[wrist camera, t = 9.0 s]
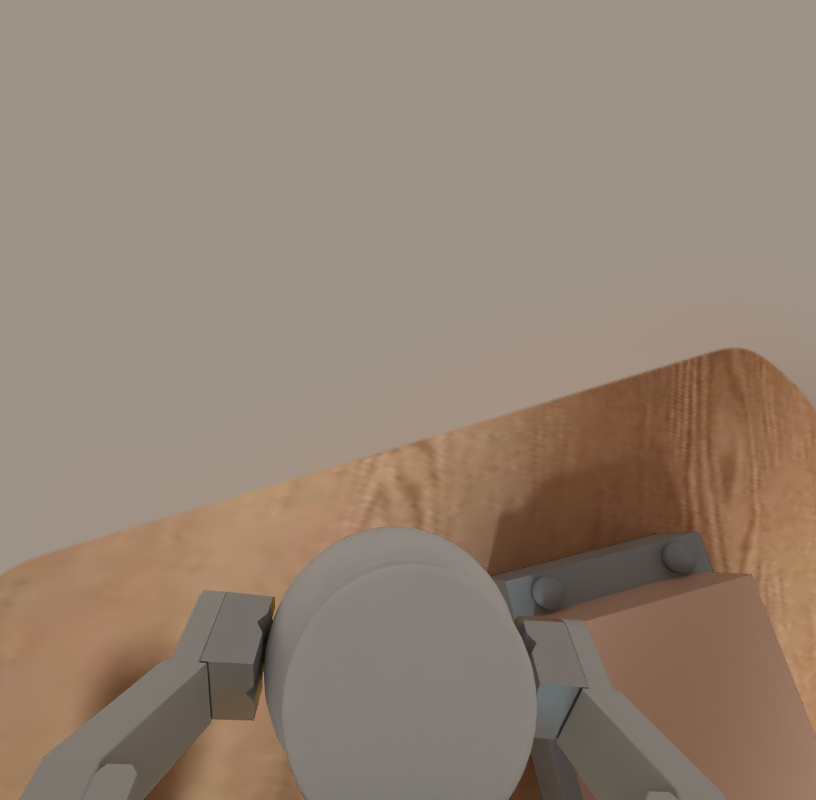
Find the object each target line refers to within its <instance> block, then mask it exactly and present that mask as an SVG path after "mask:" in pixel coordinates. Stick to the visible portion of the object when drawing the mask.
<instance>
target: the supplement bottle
mask: <svg viewBox="0 0 816 800" xmlns="http://www.w3.org/2000/svg"><path fill="white" fill-rule="evenodd" d="M264 682H265V695H266V701H267V706H268V710H269V714H270V717H271V721H272V724H273V727H274V729H275V732H276V735H277V737H278V739H279V741H280V743H281V745H282V747H283V749H284V750H285V752H286V754H287V758H288V762H289V764H290V767H291V770H292V773H293V775H294V778H295V780H296V783H297V785H298V787H299V789H300V790H301V792H302V794H303V796H304V798H305V799H306V800H509V798H510V796H511V795H512V793H513V792H514V790H515V789H516V787H517V785H518V783H519V781H520V779H521V777H522V775H523V772H524V770H525V767H526V765H527V762H528V759H529V756H530V753H531V748H532V744H533V739H534V734H535V728H536V716H537V698H536V686H535V680H534V674H533V669H532V665H531V661H530V658H529V655H528V653H527V650H526V647H525V645H524V642H523V640H522V637H521V636H520V634H519V632H518V630H517V628H516V626H515V624H514V623H513V619H512V617H511V614H510V611H509V609H508V606H507V604H506V602H505V600H504V598H503V596H502V594H501V592H500V590H499V589H498V587H497V585H496V584H495V582H494V581H493V580H492V578H491V577H490V575H489V574H488V573H487V572H486V571H485V570H484V568H483V567H482V566H481V565H480V564H479V563H478V562H477V561H476V560H475V559H474V558H473V557H472V556H471V555H469V554H468V553H467V552H466V551H464V550H463V549H462V548H460V547H459V546H458V545H456V544H454V543H453V542H451V541H449V540H447V539H445V538H443V537H441V536H439V535H436V534H433V533H430V532H427V531H424V530H419V529H415V528H407V527H381V528H374V529H369V530H365V531H362V532H359V533H356V534H353V535H350V536H347V537H345V538H344V539H342V540H340V541H338V542H337V543H335V544H334V545H332V546H330V547H329V548H327V549H326V550H325V551H323V552H322V553H321V554H319V555H318V556H317V557H316V558H315V559H314V560H312V561H311V562H310V563H309V564H308V565H307V566H306V567H305V568H304V569H303V571H302V572H301V573H300V574H299V575H298V576H297V577H296V579H295V580H294V582H293V583H292V585H291V586H290V588H289V589H288V591H287V592H286V594H285V596H284V598H283V600H282V601H281V603H280V605H279V608H278V610H277V612H276V614H275V617H274V620H273V623H272V626H271V629H270V632H269V636H268V641H267V647H266V653H265V664H264Z"/></svg>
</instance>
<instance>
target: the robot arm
mask: <svg viewBox="0 0 816 800" xmlns="http://www.w3.org/2000/svg"><path fill="white" fill-rule="evenodd" d="M274 609H275V597H270V596H260V595H251V594H242V593H232V592H221V591H210V590H204V591H203V592H202V594H201V595H200V596H199V598H198V600H197V602H196V604H195V607H194V609H193V611H192V613H191V616H190V618H189V620H188V622H187V625H186V627H185V629H184V631H183V634H182V636H181V638H180V640H179V643H178V645H177V647H176V649H175V652H174V654H173V656H172V658H171V660H163V661H161V662H160V663H159V664H158V665H156V666H155V667H154V668H153V669H151V670H150V671H149V672H148V673H147V674H145V675H144V676H143V677H142V678H140V679H139V680H138V681H137V682H135V683H134V684H133V685H132V686H131V687H129V688H128V689H127V690H126V691H124V692H123V693H122V694H121V695H120V696H118V697H117V698H116V699H115V700H113V701H112V702H111V703H110V704H108V705H107V706H106V707H105V708H104V709H102V710H101V711H100V712H99V713H97V714H96V715H95V716H94V717H93V718H91V719H90V720H89V721H88V722H86V723H85V724H84V725H83V726H81V727H80V728H79V729H78V730H77V731H75V732H74V733H73V734H72V735H70V736H69V737H68V738H67V739H65V740H64V741H63V742H62V743H61V744H59V745H58V746H57V747H56V748H54V749H53V750H52V751H51V752H50V753H48V754H47V755H46V756H45V757H44V758H43V759H42V761H41V763H40V764H39V766H38V768H37V769H36V771H35V773H34V775H33V776H32V778H31V780H30V781H29V783H28V785H27V786H26V788H25V790H24V792H23V793H22V795H21V797H20V798H19V800H144V799H145V798H146V796H147V795H148V794H149V793H150V792H151V791H152V790H153V788H154V787H155V786H156V785H157V784H158V783H159V782H160V780H161V779H162V778H163V777H164V776H165V775H166V774H167V772H168V771H169V770H170V769H171V768H172V767H173V766H174V764H175V763H176V762H177V761H178V760H179V759H180V758H181V756H182V755H183V754H184V753H185V752H186V751H187V749H188V748H189V747H190V746H191V745H192V744H193V743H194V741H195V740H196V739H197V738H198V737H199V736H200V735H201V733H202V732H203V731H204V730H205V729H206V728H207V727H208V725H209V724H210V723H211V719H218V720H252V721H254V718H255V714H256V710H257V706H258V702H259V699H260V695H261V691H262V672H263V671H264V664H265V653H266V647H267V641H268V636H269V632H270V629H271V626H272V623H273V619H272V617H273V613H274ZM514 624H515V626H516V628H517V630H518V632H519V634H520V636H521V637H522V640H523V642H524V645H525V647H526V650H527V653H528V655H529V658H530V661H531V665H532V669H533V674H534V680H535V686H536V698H537V716H536V728H535V734H534V738H543V739H554V740H557V741H556V742H557V744H558V745H559V747H560V748H561V749H562V751H563V752H564V754H565V755H566V756H567V758H568V759H569V761H570V762H571V764H572V765H573V766H574V768H575V769H576V771H577V772H578V773H579V775H580V776H581V778H582V779H583V781H584V782H585V783H586V785H587V786H588V788H589V789H590V790H591V792H592V793H593V795H594V796H595V798H596V799H597V800H726V798H725V796H724V794H723V793H722V792H721V791H720V790H719V789H718V788H717V787H716V786H715V785H714V784H713V783H712V782H711V781H710V780H709V779H708V778H707V777H706V776H705V775H704V774H703V773H702V772H701V771H700V770H699V769H698V768H697V767H696V766H695V765H694V764H693V763H692V762H691V761H690V760H689V759H688V758H687V757H686V756H685V755H684V754H683V753H682V752H681V751H680V750H679V749H678V748H677V747H676V746H675V745H674V744H673V743H672V742H671V741H670V740H669V739H668V738H667V737H666V736H665V735H664V734H663V733H662V732H661V731H660V730H659V729H658V728H657V727H656V726H655V725H654V724H653V723H652V722H651V721H650V720H649V719H648V718H647V717H646V716H645V715H644V714H643V713H642V712H641V711H640V710H639V709H638V708H637V707H636V706H635V705H634V704H633V703H632V702H631V701H629V700H628V699H627V698H626V697H625V696H624V695H623V694H622V693H621V692H620V691H614V690H613V688H612V685H611V683H610V681H609V678H608V676H607V673H606V671H605V668H604V666H603V663H602V661H601V658H600V656H599V654H598V651H597V649H596V646H595V644H594V641H593V639H592V636H591V634H590V631H589V629H588V627H587V625H586V624H585V622H584V621H581V620H568V619H559V618H547V617H532V616H518V617H517V618H516V619H515V621H514Z"/></svg>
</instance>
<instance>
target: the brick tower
mask: <svg viewBox="0 0 816 800" xmlns="http://www.w3.org/2000/svg"><path fill="white" fill-rule="evenodd" d="M491 578H492V580H493V581H494V582H495V584H496V585H497V587H498V589H499V590H500V592H501V594H502V596H503V598H504V600H505V602H506V604H507V606H508V609H509V611H510V614H511V617H512V619H513V623H514V621H515V619H516V618H517V617H518V616H532V617H547V618H559V619H568V620H581V621H584V622H585V624H586V625H587V627H588V629H589V631H590V634H591V636H592V639H593V641H594V644H595V646H596V649H597V651H598V654H599V656H600V658H601V661H602V663H603V666H604V668H605V671H606V673H607V676H608V678H609V681H610V683H611V685H612V688H613V690H614V691H620V692H621V693H622V694H623V695H624V696H625V697H626V698H627V699H628V700H629V701H631V702H632V703H633V704H634V705H635V706H636V707H637V708H638V709H639V710H640V711H641V712H642V713H643V714H644V715H645V716H646V717H647V718H648V719H649V720H650V721H651V722H652V723H653V724H654V725H655V726H656V727H657V728H658V729H659V730H660V731H661V732H662V733H663V734H664V735H665V736H666V737H667V738H668V739H669V740H670V741H671V742H672V743H673V744H674V745H675V746H676V747H677V748H678V749H679V750H680V751H681V752H682V753H683V754H684V755H685V756H686V757H687V758H688V759H689V760H690V761H691V762H692V763H693V764H694V765H695V766H696V767H697V768H698V769H699V770H700V771H701V772H702V773H703V774H704V775H705V776H706V777H707V778H708V779H709V780H710V781H711V782H712V783H713V784H714V785H715V786H716V787H717V788H718V789H719V790H720V791H721V792H722V793H723V794H724V796H725V798H726V800H816V736H815V733H814V731H813V728H812V726H811V723H810V721H809V718H808V716H807V713H806V711H805V708H804V706H803V703H802V701H801V698H800V696H799V693H798V690H797V688H796V685H795V683H794V680H793V678H792V675H791V673H790V670H789V668H788V665H787V663H786V660H785V658H784V655H783V653H782V650H781V648H780V645H779V643H778V640H777V638H776V635H775V633H774V630H773V627H772V625H771V622H770V620H769V617H768V615H767V612H766V610H765V607H764V605H763V602H762V600H761V597H760V595H759V592H758V590H757V587H756V585H755V582H754V580H753V577H752V575H751V574H737V573H720V572H713V569H712V567H711V564H710V562H709V559H708V556H707V554H706V551H705V548H704V546H703V543H702V540H701V538H700V535H699V532H681V533H663V534H655V535H651V536H647V537H643V538H639V539H635V540H631V541H627V542H623V543H619V544H616V545H612V546H608V547H604V548H600V549H596V550H592V551H588V552H584V553H580V554H577V555H573V556H569V557H565V558H561V559H557V560H553V561H549V562H545V563H541V564H538V565H534V566H530V567H526V568H522V569H518V570H514V571H510V572H506V573H502V574H499V575H495V576H491ZM556 741H557V740H554V739H543V738H534V739H533V744H532V748H531V757H532V761H533V765H534V769H535V772H536V776H537V780H538V784H539V788H540V792H541V796H542V800H597V799H596V798H595V796H594V795H593V793H592V792H591V790H590V789H589V788H588V786H587V785H586V783H585V782H584V781H583V779H582V778H581V776H580V775H579V773H578V772H577V771H576V769H575V768H574V766H573V765H572V764H571V762H570V761H569V759H568V758H567V756H566V755H565V754H564V752H563V751H562V749H561V748H560V747H559V745H558V744H557V742H556Z"/></svg>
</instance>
